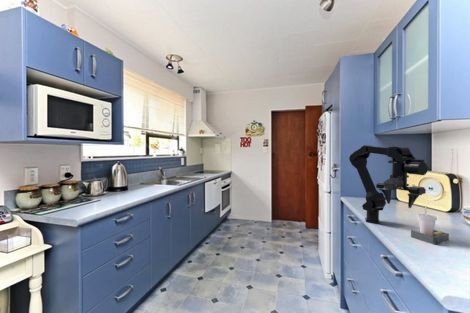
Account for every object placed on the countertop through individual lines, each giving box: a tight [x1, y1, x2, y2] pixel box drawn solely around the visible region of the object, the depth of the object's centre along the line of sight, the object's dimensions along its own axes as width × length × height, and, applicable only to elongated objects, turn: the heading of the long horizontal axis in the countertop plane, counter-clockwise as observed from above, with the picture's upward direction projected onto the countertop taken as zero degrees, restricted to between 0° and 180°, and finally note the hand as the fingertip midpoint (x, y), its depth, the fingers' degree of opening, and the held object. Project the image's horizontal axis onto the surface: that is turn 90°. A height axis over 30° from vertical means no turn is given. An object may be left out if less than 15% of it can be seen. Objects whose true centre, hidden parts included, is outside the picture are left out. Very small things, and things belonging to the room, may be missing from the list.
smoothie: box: [417, 205, 438, 236], centre depth 96 cm, size 6×6×14 cm
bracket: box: [410, 229, 450, 246], centre depth 96 cm, size 9×10×4 cm
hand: (398, 205), depth 105 cm, fingers open, 9 cm apart
